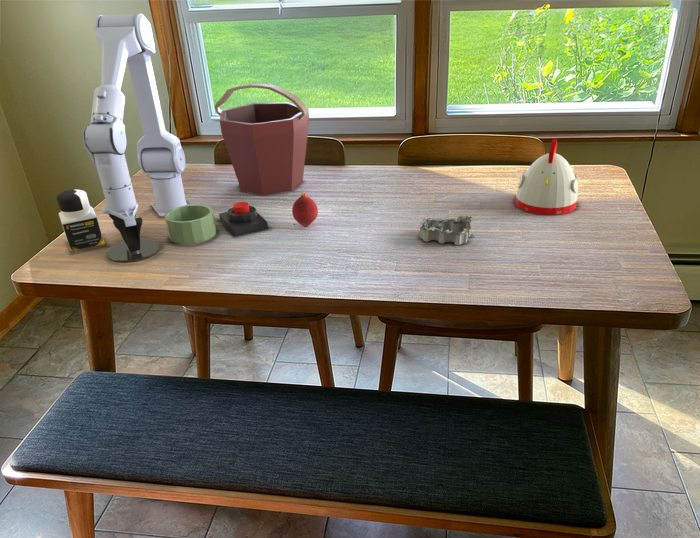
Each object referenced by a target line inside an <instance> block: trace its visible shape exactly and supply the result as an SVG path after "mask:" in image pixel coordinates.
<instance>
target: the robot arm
mask: <svg viewBox="0 0 700 538" xmlns="http://www.w3.org/2000/svg"><path fill="white" fill-rule="evenodd" d="M93 25H94V26H93V29H94V30H93V31H94V35H95V39H96V41H97V45H98V46H99V49H100V50H101V70H100V71H101V72H100V73H101V74H100V76H101V77H100V85H99V86H97V87H96V88H95V89H94V91H93V98H92V107H91V115H90V122H89V124H88V125H87V126H85V127H84V128H83V131H82V137H83V138H82V139H83V144H82V145H83V147H84V149H85V150H86V153H87V154H88V155H89V157H90V160H91V162H92V164H94V165H95V167H96V170H97V174H98V178H99V181H100V184H101V188H102V192H103V196H104V199H105V203H106V206H105V207H102V208H101V212H102V214H104V215H106V214H108V216H109V217H110V219H111V220H112V224H113V226H114V227H115V228H116V230H117V231H118V232H119V233H120V236H121V238H122V239H123V241H125V243H126V245H127V247H128V249H129V250H130V252H133V251H138V250H140V238H141V229H142V225H143V222H144V221H143V217H141V216H140V217H139V216H138V217H137V216H136V215H137V212H138V209H139V204H138V202H137V199H136V195H135V192H134V187H133V183H132V180H131V175H130V172H129V168H128V164H127V163H128V162H127V159H126V155H125V152H126V148H127V144H128V143H127V135H126V134H127V133H126V125H125V124H124V116H125V115H124V114H125V104H126V96H125V95H124V93H123V92H122V91H121V88H122V85H123V79H124V74H125V70H126V66H128V71H129V75H130V79H131V80H130V81H131V84H132V88H133V93H134V97H135V103H136V106H137V110H138V114H139V119H140V123H141V127H142V132H143V135H142V136H141V137H140V139H139V140H138V141H137V143H136V151H137V165H138V167H139V169H140V170H141V172H142V173H143V174H145V175H146V178H149V179H150V180H149V181H150V186H151V191H152V196H153V199H154V203H151V207H152V208H153V210H154V211H155V212H156V213H157V214H158V216H160V217H163V216H165V214H166V213H167V212H168V211H170V210H171V209H174V208H177V207H180V206H185V205H189V204H188V203H187V200H186V195H185V190H184V185H183V180H182V173H184V170H185V169H186V155H185V152H184V150H183V146H182V144H181V141H180V138H179V137H177V136H176V135H174V134H172V133H170V132H168V131H167V130H166V127H165V121H164V117H163V112H162V108H161V107H162V106H161V102H160V98H159V92H158V88H157V82H156V78H155V74H154V69H153V64H152V58H151V56H152V55H155V54H156V46H155V41H154V36H153V30H152V26H151V23H150V21H149V20H148V18H146V16H145V15H144V14H143V13H140V12H139V13H135V14H113V15H112V14H110V15H109V14H108V15H104V14H98V15H96V16H95V20H94V23H93Z"/></svg>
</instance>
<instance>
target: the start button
mask: <svg viewBox="0 0 700 538" xmlns="http://www.w3.org/2000/svg"><path fill="white" fill-rule="evenodd" d="M249 206H250V203H248V202H246V201H238V202H235V203H234V204H232V207H233V210H234V213H235V214H244V213H248V212H249V211H250V210H249Z"/></svg>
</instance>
